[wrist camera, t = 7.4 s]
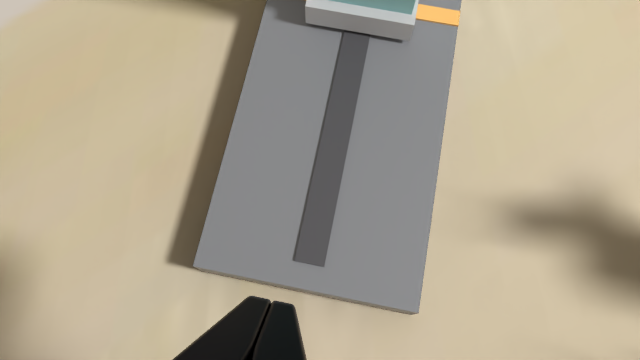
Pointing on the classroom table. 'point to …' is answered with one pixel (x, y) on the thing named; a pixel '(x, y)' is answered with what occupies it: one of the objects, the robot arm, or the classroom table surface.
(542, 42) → the classroom table surface
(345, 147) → the fader board
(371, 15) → the fader lever
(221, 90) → the classroom table surface
